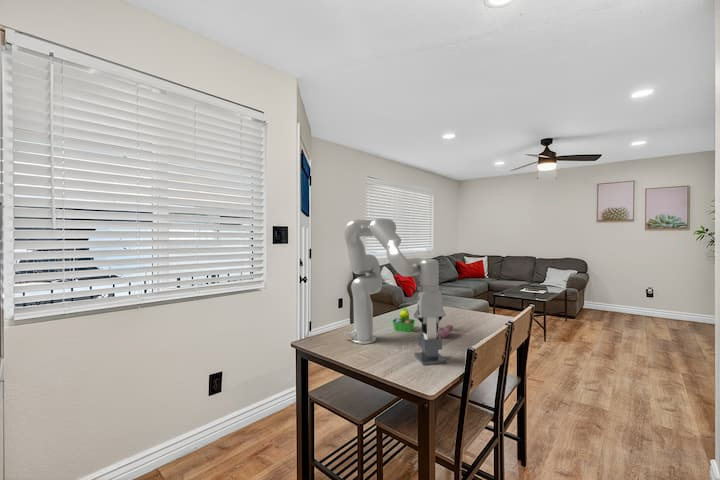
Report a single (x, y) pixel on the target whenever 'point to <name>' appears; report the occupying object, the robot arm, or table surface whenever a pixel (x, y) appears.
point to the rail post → (430, 328)
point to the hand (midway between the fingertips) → (430, 331)
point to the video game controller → (446, 331)
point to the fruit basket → (403, 322)
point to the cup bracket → (430, 351)
